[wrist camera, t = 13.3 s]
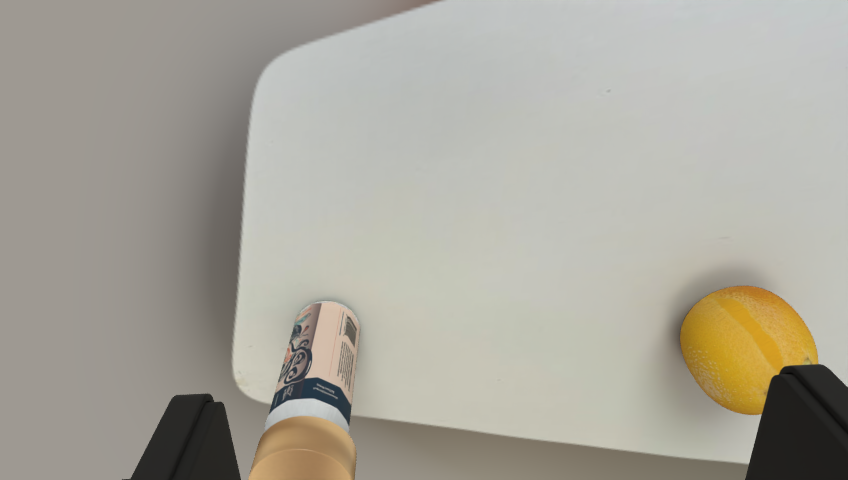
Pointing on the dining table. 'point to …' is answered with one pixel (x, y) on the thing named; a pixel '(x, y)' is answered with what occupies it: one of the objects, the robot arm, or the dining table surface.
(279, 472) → the lid
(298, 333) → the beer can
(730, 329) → the fruit
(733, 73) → the dining table surface
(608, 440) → the dining table surface
